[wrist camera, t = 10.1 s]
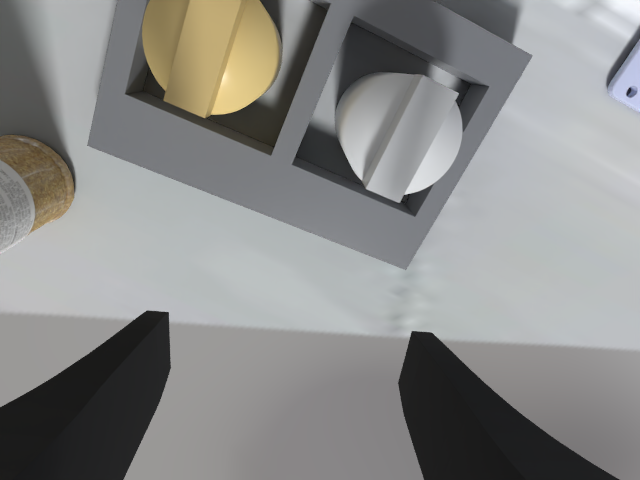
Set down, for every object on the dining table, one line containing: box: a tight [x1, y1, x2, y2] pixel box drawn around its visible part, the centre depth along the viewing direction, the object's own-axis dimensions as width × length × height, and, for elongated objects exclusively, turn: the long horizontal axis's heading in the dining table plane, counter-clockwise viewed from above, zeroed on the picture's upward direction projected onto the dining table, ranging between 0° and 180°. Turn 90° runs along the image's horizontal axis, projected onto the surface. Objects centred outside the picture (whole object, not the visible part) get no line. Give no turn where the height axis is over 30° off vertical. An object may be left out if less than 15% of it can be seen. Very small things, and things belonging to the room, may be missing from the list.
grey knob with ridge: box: [335, 72, 463, 203], centre depth 17 cm, size 4×4×6 cm
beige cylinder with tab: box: [142, 0, 282, 118], centre depth 15 cm, size 4×4×6 cm
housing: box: [87, 0, 532, 270], centre depth 18 cm, size 16×11×2 cm
